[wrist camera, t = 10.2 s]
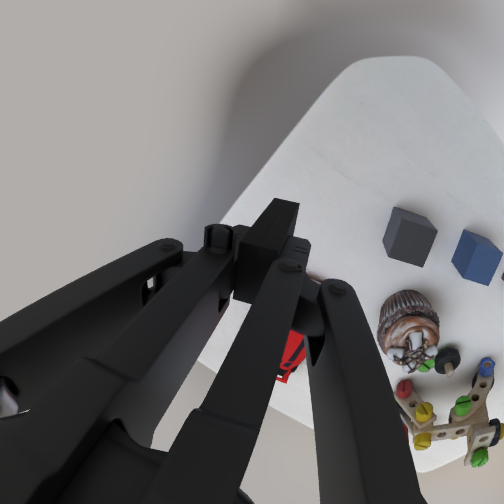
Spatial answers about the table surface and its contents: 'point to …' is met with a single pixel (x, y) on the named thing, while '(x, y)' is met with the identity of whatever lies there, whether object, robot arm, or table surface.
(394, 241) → the charcoal block
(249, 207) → the table surface
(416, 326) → the cupcake
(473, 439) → the toy construction set
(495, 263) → the slate-blue block
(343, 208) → the table surface
